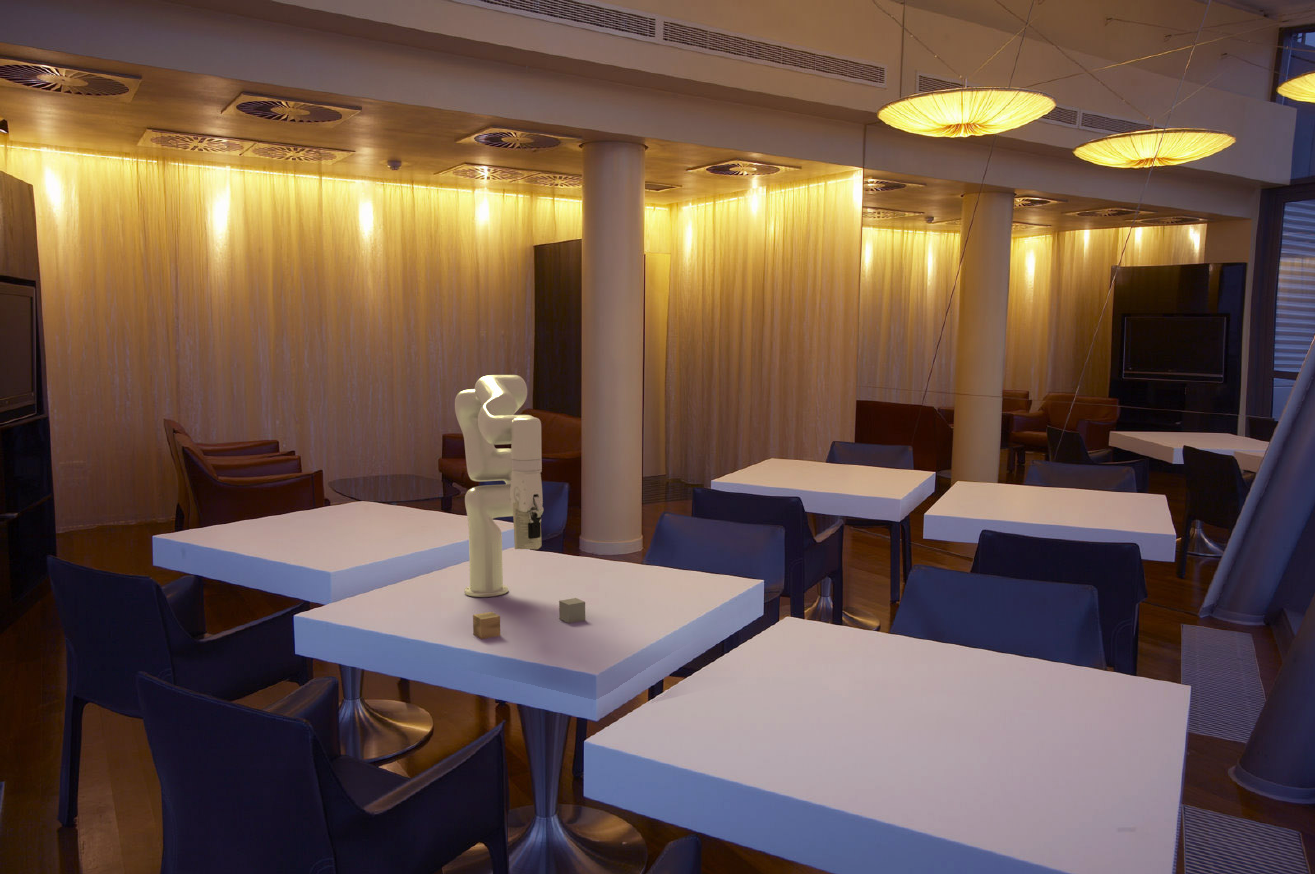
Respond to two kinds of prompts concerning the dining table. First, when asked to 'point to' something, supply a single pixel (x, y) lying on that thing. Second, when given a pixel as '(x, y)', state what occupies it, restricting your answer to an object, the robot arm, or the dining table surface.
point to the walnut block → (486, 625)
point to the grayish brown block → (572, 610)
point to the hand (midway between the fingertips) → (527, 535)
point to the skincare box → (523, 530)
